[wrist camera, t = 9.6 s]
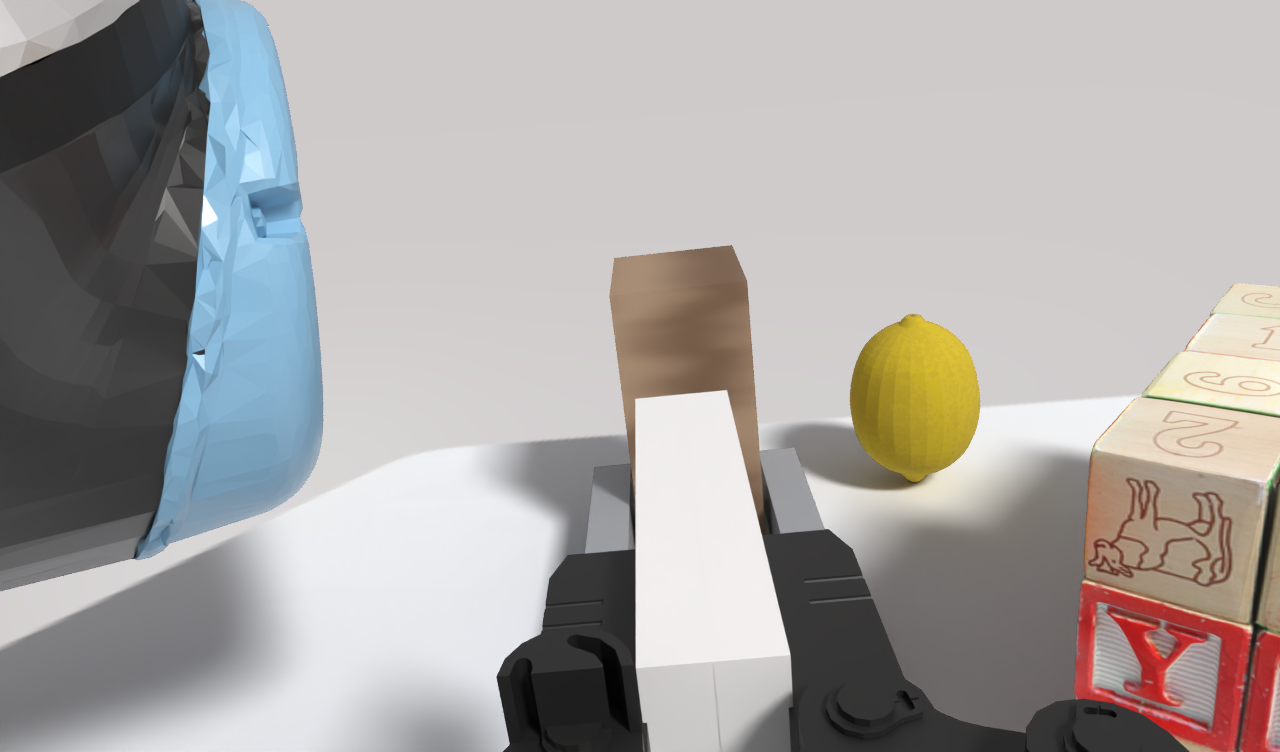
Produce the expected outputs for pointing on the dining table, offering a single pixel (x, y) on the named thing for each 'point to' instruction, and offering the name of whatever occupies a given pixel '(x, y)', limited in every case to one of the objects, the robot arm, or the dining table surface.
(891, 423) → the lemon
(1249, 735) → the stack of blocks
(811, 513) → the chute
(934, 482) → the dining table surface
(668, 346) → the block
